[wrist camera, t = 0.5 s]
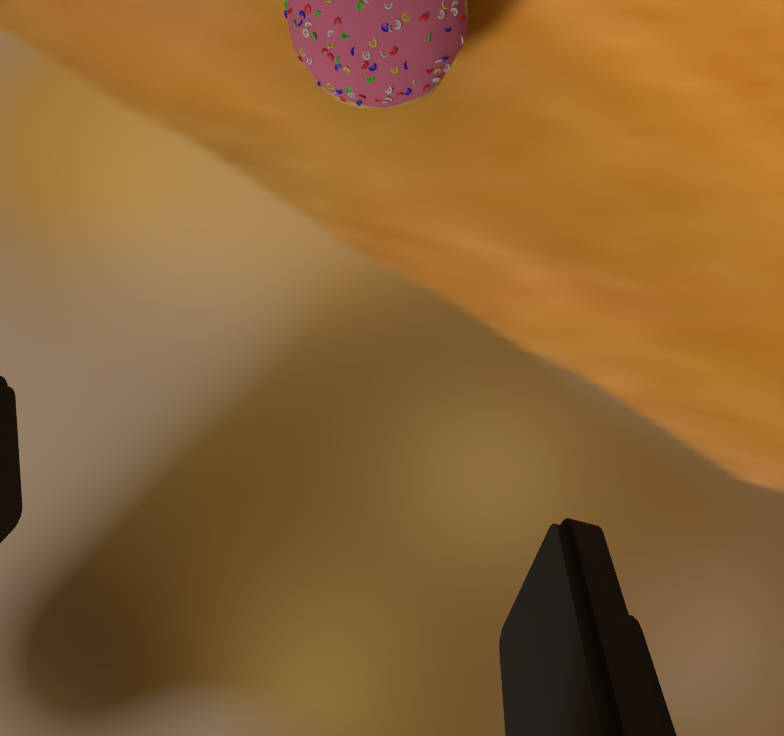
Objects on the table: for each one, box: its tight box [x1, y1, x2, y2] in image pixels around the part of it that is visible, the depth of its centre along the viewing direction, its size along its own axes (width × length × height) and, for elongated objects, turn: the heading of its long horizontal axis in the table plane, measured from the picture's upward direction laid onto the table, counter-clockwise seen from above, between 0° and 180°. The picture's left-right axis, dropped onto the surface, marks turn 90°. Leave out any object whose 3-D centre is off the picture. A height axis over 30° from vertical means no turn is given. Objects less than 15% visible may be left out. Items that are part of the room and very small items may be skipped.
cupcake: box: [284, 0, 467, 109], centre depth 27 cm, size 9×8×12 cm
